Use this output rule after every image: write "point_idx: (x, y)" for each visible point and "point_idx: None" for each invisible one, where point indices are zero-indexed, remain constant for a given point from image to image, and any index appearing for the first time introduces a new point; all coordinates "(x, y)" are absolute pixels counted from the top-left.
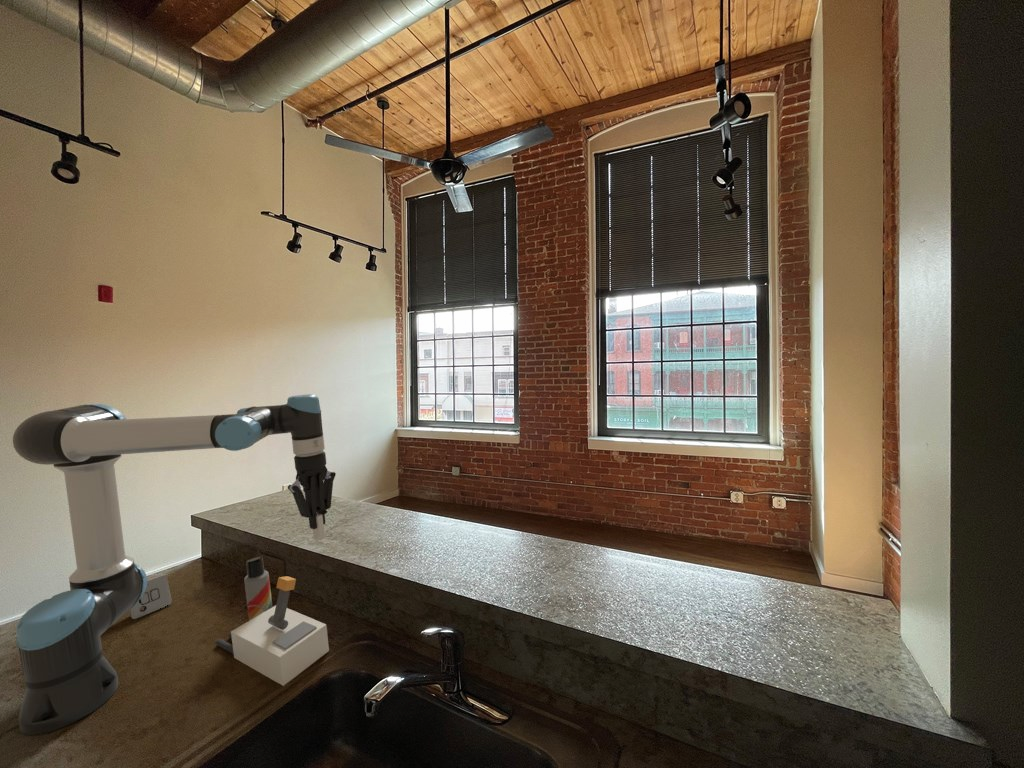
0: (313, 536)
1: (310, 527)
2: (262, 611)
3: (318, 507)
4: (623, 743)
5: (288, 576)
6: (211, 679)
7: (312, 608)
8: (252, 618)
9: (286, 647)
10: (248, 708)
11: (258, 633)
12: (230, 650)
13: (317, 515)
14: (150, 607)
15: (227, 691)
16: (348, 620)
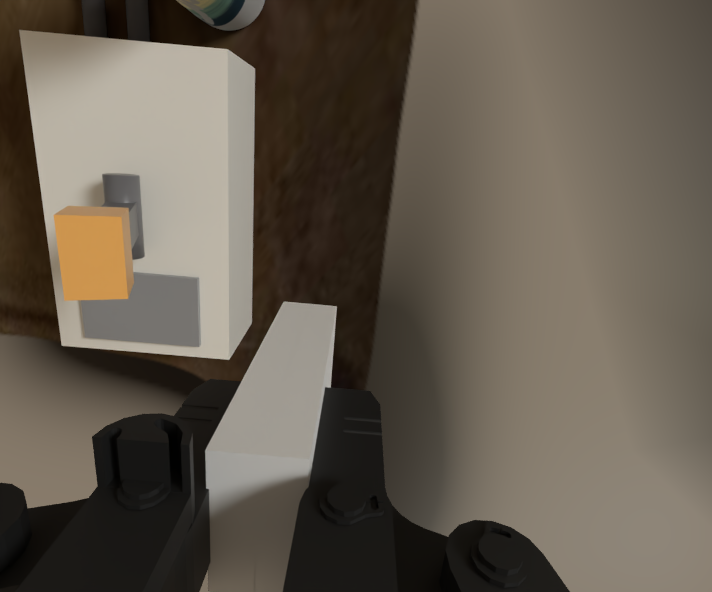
0: (279, 310)
1: (200, 392)
2: (182, 3)
3: (341, 589)
4: None
5: (121, 229)
6: (7, 81)
7: (385, 84)
8: None
9: (89, 337)
10: (29, 291)
11: (78, 164)
12: (83, 14)
13: (249, 552)
14: None
15: (19, 182)
16: (376, 274)
